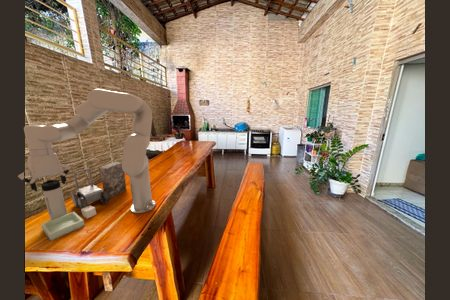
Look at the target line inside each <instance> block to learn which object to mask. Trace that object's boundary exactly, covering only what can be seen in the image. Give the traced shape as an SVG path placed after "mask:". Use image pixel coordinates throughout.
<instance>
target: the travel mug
mask: <svg viewBox="0 0 450 300" xmlns="http://www.w3.org/2000/svg"><path fill="white" fill-rule="evenodd" d="M40 186H41V191H42V194H43V198H44V201H45V202H44V203H45V204H46V208H47V212H48V215H49V219H50V220H49V221H51V220H53V219H56V218H58V217H61V216H64V215H66V214H68V211H67V206H66V204H65V203H66V202H65V199H64V195H63V191H62V186H61V183H60V180H58V179H49V180H46V181H44V182H42V183H41V185H40Z"/></svg>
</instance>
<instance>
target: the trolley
mask: <svg viewBox="0 0 450 300" xmlns="http://www.w3.org/2000/svg"><path fill="white" fill-rule="evenodd" d="M86 171H87V172H88V175H89V176H88V177H89V182H90V185H87V186H83V187H81V188H80V187H79V183H78V179H77V174H78V173H82V172H86ZM72 173H73V178H74V183H75V188H76V192H73V193H71V199H72V203H73V204H74V207H76V208H79V210H80V211H81V209H82V208H85V207H87V206H89V204H91V203H94V202H97V201H100V202H101V203H102V204H103V205H105V204H107V203H110V198H109V195H108V193H107V191H106V190H103V188H101V187H100V186H98V185H94V183H93V182H94V181H93V177H92V172H91V168H84V169H79V170H77V171H73V172H72Z"/></svg>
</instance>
